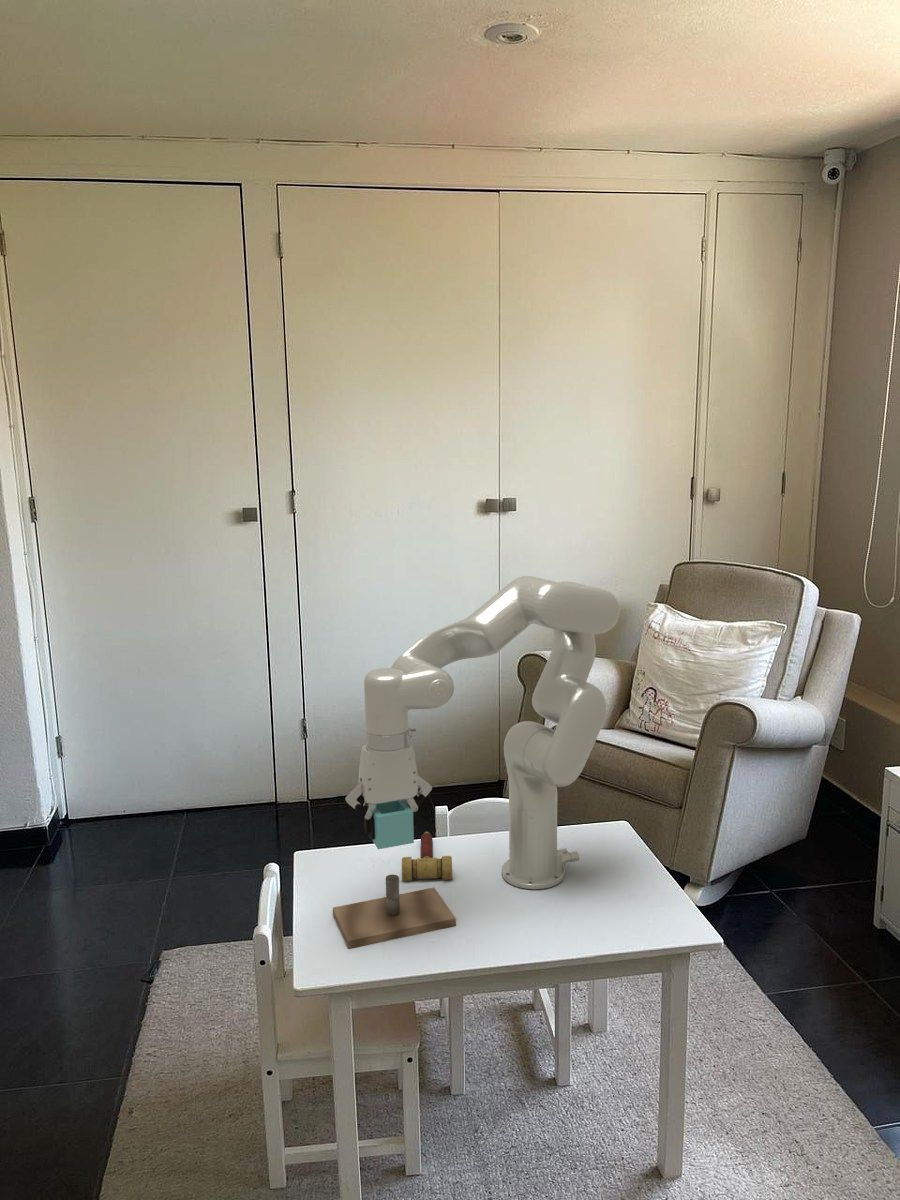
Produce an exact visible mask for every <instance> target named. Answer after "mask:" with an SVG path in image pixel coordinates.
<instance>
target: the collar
mask: <svg viewBox="0 0 900 1200" xmlns="http://www.w3.org/2000/svg"><path fill="white" fill-rule="evenodd" d="M373 818H374V824H375V839H374V840H372V842H373V843H374V845H375V846H376V849H377V850H382V849H388V848H393V847H399V846H405V845H411V844H414V843H415V839H414V837H415V834H414V833H415V828H414V829H413V811H412V810H411V808H410V807H409V806H408V804H407V802H406V801H405V800H400V801H394V802H387V803H381V804H377V805H376V807H375V810H374V812H373Z"/></svg>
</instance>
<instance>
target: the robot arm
mask: <svg viewBox="0 0 900 1200" xmlns="http://www.w3.org/2000/svg"><path fill="white" fill-rule="evenodd" d="M620 615H621V607H620V602H619V600H618V599H617V597H616V596H615V595H614V594H613V593H612V592H610V591H608V590H606V589H602V588H598V587H595V586H591V585H586V584H583V583H578V582H574V581H573V582H572V581H560V582H559V581H558V582H556V581H552V580H550V579H545V578H541V577H537V576H531V575H522V576H518V577H517V578H515V579H513V580H511V581H510V582H509V583H508V584H507V585H505V586H504V587H503V588H502V589H501V590H499V591H498V592H497V593H495V594H494V595H493V596H492V597H491V598H490V599H488V600H487V601H486V602H485V603H483V604H482V605H481V606H480V607H478V608H477V609H476V610H474V612H473V613H471V614H470V615H469V616H467V617H466V618H463V619H461V620H459V621H456V622H453V623H451V624H448V625H446V626H444V627H442V628H440V629H437V630H434V631H433V632H430V633H428V634H427V635H425V636H423V637H421V638H420V639H418V640H417V641H416V642H415V643H414V644H412V645H411V646H410V647H408V648H407V649H406V650H405V651H404V652H403V653H401V654H400V655H399V656H398V658H397V659H396V660H395V661H394V662H393V664H392V665H391V668H390V667H382V668H376V669H373V670H372V669H371V671H369V672H367V673H366V675H365V676H364V681H363V686H364V688H363V689H364V691H363V692H364V712H365V715H364V716H365V743H366V744H364V745H362V746H361V751H360V755H359V767H358V783H357V784H356V785H355V787H354V788H353V789H351V791H350V792H349V793H348V794H347V796H345V801H346V803H347V804H348V805H349V806H350V807H352V808H353V809H355V811H356V812H357V813H359V814H360V816H363V828H364V829H363V830H364V833H365V835H367V836H368V837H369V838H370V840H371V841H373V840H374V839H375V824H374V818H373V812H374V810H375V807H376V805H377V804H381V803H387V802H394V801H400V800H404V801H405V802H406V803H407V804H408V806H409V807H410V808H411V810H412V811H413V829H414V830H415V826H417V812H418V810H419V806H421V805H422V804H423V802H424V801H425V800H426V797H427V796H429V794H430V793H431V791H432V790H433V786H432V785H431V784H430V783H429V782H427V781H426V780H425V779H423V778H422V777H421V776H419V774H418V768H417V767H418V766H417V761H416V754H415V751H414V746H413V743H412V742H411V738H413V737H417V730H416V728H410V727H409V710H432V709H437V708H440V707H442V706H444V705H446V704H447V703H449V701H450V700H451V699H452V697H453V695H454V692H455V686H454V685H455V684H454V680H453V678H452V677H451V675H450V674H449V673H448V672H447V671H446V670H444V669H442V668H444V667H446V666H447V665H450V664H452V663H454V662H459V661H462V660H466V659H467V660H468V659H477V658H478V659H479V658H484V657H489V656H493V655H495V654H496V655H497V653H499V652H500V651H501V650H502V649H503V648H505V647H506V646H507V645H508V644H510V643H511V642H512V641H513V640H514V639H516V637H518V636H519V635H520V634H521V633H523V631H525V630H526V629H527V628H528V627H529V626H531V625H532V624H534V625H538V626H541V627H544V628H547V629H553V631H554V633H553V634H554V641H553V646H552V649H551V652H550V654H549V656H548V659H547V661H546V664H545V666H544V667H543V670H542V672H541V674H540V677H539V679H538V681H537V683H536V686H535V687H534V691H533V694H532V696H531V697H532V698H531V705H532V707H533V709H534V711H535V712H536V713H537V714H538V715H539V716H541V717H542V718H544V719H546V720H548V721H550V722H552V723H554V724H557V725H556V727H555V730H554V729H553V728H550V727H549V726H546V725H544V724H542V723H540V722H539V723H538V722H536V721H528V720H526V721H524V720H523V721H520V722H517V723H516V724H514V725H513V726H511V728H510V729H509V730H508V731H507V734H506V735H505V738H504V742H503V754H504V756H503V757H504V761H505V766H506V767H505V768H506V771H507V777H508V778H507V780H508V781H507V782H508V838H509V839H508V852H509V853H508V854H509V855H508V857H509V859H508V860H506V861H505V862H504V863H503V864H502V866H501V876H502V878H503V879H504V881H506V882H507V883H508V884H511V885H512V886H514V887H516V888H522V889H527V890H542V889H548V888H553V887H554V886H556V885H559V884H560V883H561V882H562V881H563V880H564V878H565V874H566V872H565V867H564V865H566V863H572V862H573V863H574V862H579V861H580V854H579V851H577V850H575V851H569V852H568V849H567V848H560V849H558V788H563V787H564V788H565V787H566V786H569V785H571V784H572V783H574V782H575V781H576V780H577V779H578V778H579V776H580V775H581V773H582V771H583V770H584V768H585V766H586V763H587V761H588V759H589V756H590V755H591V753H592V750H593V748H594V745H595V743H596V741H597V738H598V737H599V735H600V732H601V729H602V727H603V724H604V722H605V719H606V714H607V702H606V698H605V695H604V693H603V692H602V691H601V689H599V688H598V687H597V686H595V685H594V684H592V683H589V682H587V681H588V679H589V675H590V673H591V671H592V667H593V665H594V663H595V659H596V652H597V648H596V647H597V646H596V638H595V635H601V634H605V633H607V632H609V631H610V630H612V629H613V628H614V627H615V626H616V624H617V623H618V620H619V618H620ZM419 787H420V789H419ZM360 796H361V797H363V799H364V802H363V804H361V802H359V801H358V800H357V799H358V798H359V797H360Z"/></svg>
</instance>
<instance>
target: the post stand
mask: <svg viewBox="0 0 900 1200" xmlns="http://www.w3.org/2000/svg"><path fill="white" fill-rule="evenodd" d="M385 891H386V892H385V896H384V897H379V898H375V899H369V900H364V901H360V902H355V903H350V904H349V903H348V904H343V905H340V906H339V905H338V906H334V907H332V916H333V918H334V920H335V923H336V925H337V927H338V929H339V931H340V934H341V936H342V938H343V940H344V942H345V945H346V947H347V949H354V948H359V947H363V946H368V945H373V944H377V943H381V942H387V941H391V940H395V939H400V938H405V937H410V936H414V935H420V934H424V933H428V932H434V931H437V930H442V929H447V928H451V927H456V926H457V918H456V916H455V915H454V914H453V912H452V910H451V909H450V908H449V906H448V905H447V903H446V902H445V901H444V899H443V898H442V896H441V895H440V894H439V892H438V891H437V889H436V888H435V887H429V888H424V889H420V890H415V891H410V892H404V893H400V877H399V876H398V875H397V874H388V875H386V876H385Z"/></svg>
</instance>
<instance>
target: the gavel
mask: <svg viewBox="0 0 900 1200" xmlns="http://www.w3.org/2000/svg"><path fill="white" fill-rule="evenodd" d="M433 840H434V839H433V835H432V834H431V833H430V832H429V831H424V833H423V834H421V836H420V857H419V858H416V859H413V857H412V856H406V857H404V856H403V857H402V858H401V880H402V882H408V881H409V882H410V881H413V879H417V880H423V879H427V880H428V879H429V880H430V879H438V878H442V881H443V880H445V881H446V880H447V881H448V879H449V880H452V879H453V858H452V857H453V856H452V855H441V858H437V857H434V847H433V845H434V844H433Z"/></svg>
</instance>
